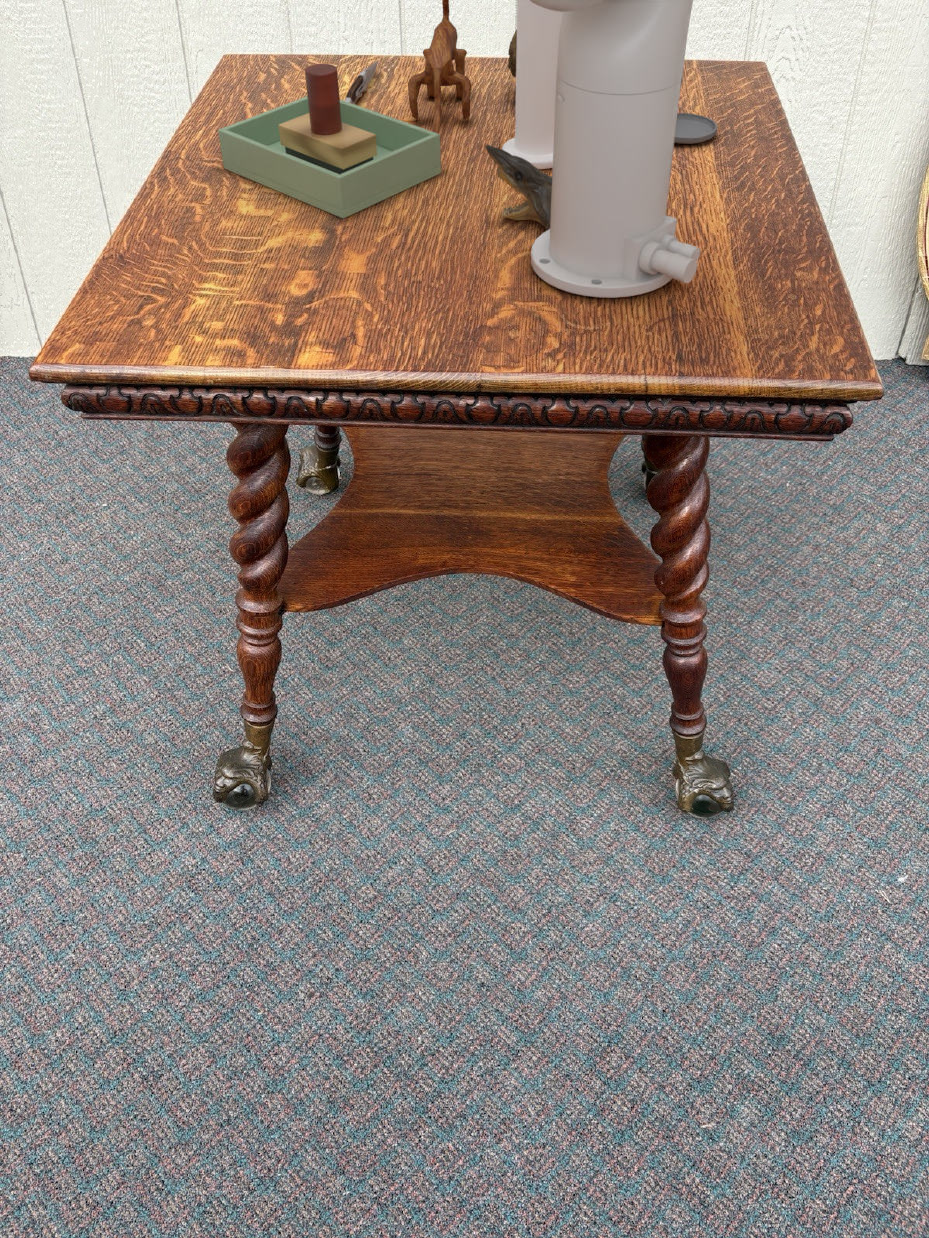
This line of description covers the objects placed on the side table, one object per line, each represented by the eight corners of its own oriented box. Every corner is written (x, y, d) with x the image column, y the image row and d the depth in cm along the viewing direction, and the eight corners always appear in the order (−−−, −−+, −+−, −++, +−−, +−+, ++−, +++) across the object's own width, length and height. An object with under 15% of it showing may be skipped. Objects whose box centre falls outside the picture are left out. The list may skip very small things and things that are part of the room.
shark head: (480, 235, 102) (480, 159, 97) (489, 204, 106) (490, 130, 102) (569, 240, 101) (573, 164, 96) (575, 208, 105) (579, 134, 101)
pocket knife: (351, 115, 123) (349, 96, 121) (343, 114, 123) (341, 95, 121) (382, 71, 132) (381, 53, 131) (374, 70, 132) (373, 52, 131)
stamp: (378, 167, 111) (372, 73, 105) (344, 182, 108) (336, 87, 102) (315, 143, 115) (306, 52, 109) (282, 157, 113) (270, 64, 107)
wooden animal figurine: (466, 152, 115) (465, 4, 105) (401, 151, 115) (394, 3, 106) (478, 88, 128) (477, -50, 118) (419, 87, 128) (414, -50, 119)
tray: (441, 173, 111) (440, 134, 109) (343, 219, 105) (339, 178, 102) (321, 129, 120) (318, 91, 117) (223, 168, 113) (217, 129, 110)
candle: (561, 174, 111) (575, -127, 94) (492, 165, 113) (494, -132, 95) (580, 146, 116) (597, -145, 98) (513, 138, 117) (518, -150, 100)
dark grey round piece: (714, 150, 115) (729, 43, 108) (630, 144, 116) (639, 39, 109) (717, 119, 120) (732, 16, 113) (638, 114, 122) (647, 12, 115)
